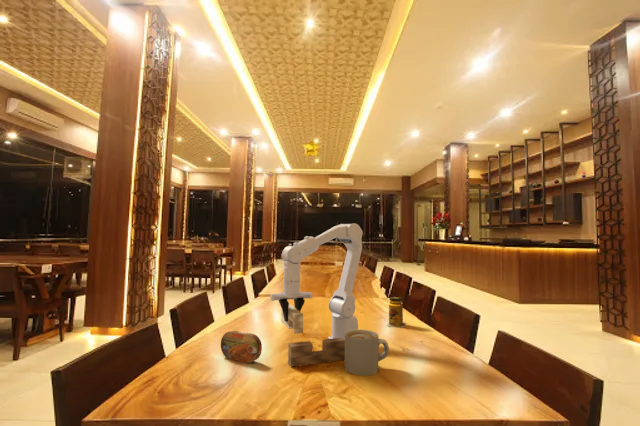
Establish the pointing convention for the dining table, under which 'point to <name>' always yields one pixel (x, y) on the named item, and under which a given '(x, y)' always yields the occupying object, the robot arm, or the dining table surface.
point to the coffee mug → (363, 352)
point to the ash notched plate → (293, 319)
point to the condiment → (396, 312)
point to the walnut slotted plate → (316, 352)
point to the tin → (241, 346)
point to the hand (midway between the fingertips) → (291, 320)
